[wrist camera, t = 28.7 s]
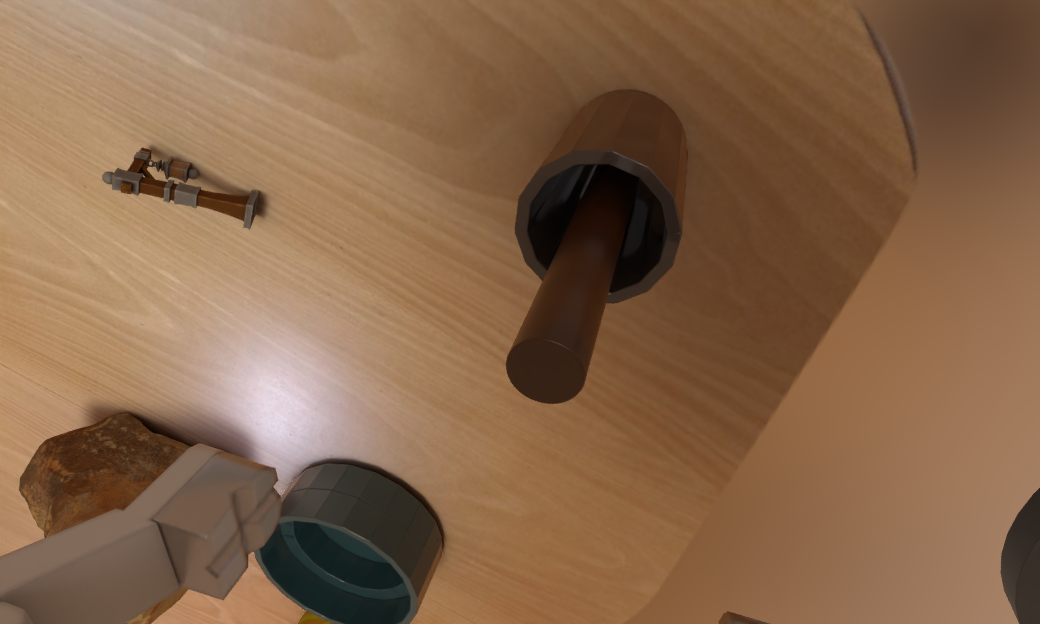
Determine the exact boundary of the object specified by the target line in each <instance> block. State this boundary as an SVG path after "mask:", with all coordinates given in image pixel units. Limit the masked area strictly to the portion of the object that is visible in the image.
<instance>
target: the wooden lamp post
mask: <svg viewBox="0 0 1040 624" xmlns="http://www.w3.org/2000/svg"><path fill="white" fill-rule="evenodd" d="M150 161H151V162H153V163H152V166H151V165H149V162H150ZM155 163H156V165H155ZM148 166H149V167H153V166H154V167H156V168H157V171H158V172H159V170H160V169H161V170H162V171H163V170H164V173H165V176H166V179H167V180H168V178H169V177H174V178H177V179H180V180H182V181H184V182H185V183H186V182H187V180H188V178H191V179H196V178H198V176H199V173H198V171H197V170H195V169H190V168H191V163H182V162H176V161H174V160H173V157H171V158H170V159H169V160H168V161H167V162H166V163H165V162H163V164H162V160H160V161H158V162H154V161H152V160H151V150H149V149H145V148H141V150H139V152H137V153H136V155H135V156H134V161H133V163H132V164H131V166H130V168H129V169H128V171H125V170H121V169H119V168H117V169H116V171H115V172H114V173H113V172H105V173H104V174H103V175H102V179H103V181H104V182H105V183H107V184H112V190H119V191H121V192H122V193H127V194H131V193H132V194H135V195H139V193H143V194H147V195H152V196H156V197H160V198H164V201H166V202H168V203H169V202H170V200H173V201H174V204H182V205H187V206H191V207H194V208H196V207H197V206H200V207H204V208H209V209H212V210H215V211H218V212H221V213H224V214H227V215H230V216H233V217H235V218H237V219H240V220H242V221H244V227H243V228H248V229H249V230H250V228H251V225H252V222H253V220H254V217H255V214H256V207H257V200H258V193H259V191H253V190H252V192H251V194H250V196H238V195H230V194H222V193H213V192H209V191H204V190H201V187H195V186H191V185H187V184H184V183H182V182H179V184H174V180H168V182H165V181H160V180H155V179H154V178H153V176H152V175H151V174H150V173H149V172H148V170H147V168H148ZM143 175H144V176H145V177H146V178H145V177H143Z"/></svg>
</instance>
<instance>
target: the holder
mask: <svg viewBox="0 0 1040 624" xmlns="http://www.w3.org/2000/svg"><path fill="white" fill-rule="evenodd" d="M687 159H688V151H687V145H686V137H685V132H684V129H683V127H682V124H681V122H680V120H679V118H678V117H677V115H676V114H675V113H674V111H673V110H672V109H671V108H670V107H669V106H668V105H667V104H666V103H664V102H663V101H662V100H660V99H659V98H657V97H655V96H653V95H651V94H648V93H646V92H642V91H637V90H618V91H613V92H609V93H606V94H604V95H601V96H599V97H597V98H596V99H594V100H592V101H591V102H590V103H589V104H587V105H586V106H584V107H583V108H582V109H581V110H580V112H579V113H578V115H577V116H576V117H575V119H574V120H573V121H572V123H571V124H570V126H569V127H568V128H567V130H566V131H565V133H564V134H563V135H562V137H561V138H560V140H559V141H558V142H557V144H556V145H555V147H554V148H553V149H552V151H551V152H550V154H549V155H548V156H547V158H546V159H545V160H544V162H543V163H542V165H541V166H540V167H539V169H538V170H537V172H536V173H535V175H534V176H533V177H532V179H531V180H530V182H529V183H528V185H527V186H526V188H525V189H524V190H523V192H522V193H521V195H520V196H519V199H518V207H517V215H516V223H515V234H516V237H517V240H518V243H519V246H520V248H521V251H522V254H523V257H524V260H525V262H526V264H527V265H528V266H529V267H530V268H531V269H532V270H533V271H534V272H535V274H536V275H537V276H538V277H539V278H540V279H541V280H542V281H543V279H544V277H545V275H546V273H547V271H548V269H549V267H550V264H551V262H552V260H553V258H554V256H555V254H556V252H557V250H558V247H559V245H560V243H561V241H562V239H563V237H564V235H565V232H566V230H567V228H568V226H569V224H570V222H571V220H572V218H573V215H574V213H575V211H576V209H577V207H578V205H579V203H580V201H581V198H582V196H583V194H584V192H585V190H586V188H587V186H588V183H589V181H590V179H591V177H592V175H593V173H594V171H595V169H596V166H597V165H601V164H609V165H612V166H614V167H616V168H618V169H621V170H623V171H625V172H627V173H630V174H632V175H634V176H636V177H639V181H638V185H637V189H636V193H635V196H634V200H633V204H632V208H631V211H630V215H629V219H628V222H627V226H626V230H625V234H624V237H623V241H622V245H621V249H620V252H619V256H618V260H617V264H616V267H615V271H614V275H613V279H612V282H611V286H610V290H609V294H608V297H607V301H606V303H612V304H614V303H619V302H621V301H624V300H627V299H629V298H632V297H635V296H637V295H640V294H643V293H645V292H647V291H649V290H650V289H651V288H652V287H653V286H654V285H655V284H656V283H657V282H658V281H659V280H660V279H661V278H662V277H663V276H664V275H665V274H666V273H667V272H668V271H669V270H670V268H671V267H672V266H673V263H674V260H675V256H676V253H677V250H678V246H679V243H680V240H681V236H682V229H683V215H684V201H685V187H686V173H687Z"/></svg>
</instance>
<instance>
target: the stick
mask: <svg viewBox="0 0 1040 624" xmlns="http://www.w3.org/2000/svg"><path fill="white" fill-rule="evenodd" d="M638 181H639V177H636V176H634V175H632V174H630V173H627V172H625V171H623V170H621V169H618V168H616V167H614V166H612V165H609V164H601V165H597V166H596V169H595V171H594V173H593V175H592V177H591V179H590V181H589V183H588V186H587V188H586V190H585V192H584V194H583V196H582V198H581V201H580V203H579V205H578V207H577V209H576V211H575V213H574V215H573V218H572V220H571V222H570V224H569V226H568V228H567V230H566V232H565V235H564V237H563V239H562V241H561V243H560V245H559V247H558V250H557V252H556V254H555V256H554V258H553V260H552V262H551V264H550V267H549V269H548V271H547V273H546V275H545V277H544V279H543V281H542V284H541V286H540V288H539V290H538V292H537V294H536V296H535V298H534V301H533V303H532V305H531V307H530V309H529V311H528V313H527V316H526V318H525V320H524V322H523V324H522V326H521V328H520V330H519V333H518V335H517V337H516V339H515V341H514V343H513V345H512V347H511V350H510V352H509V354H508V356H507V360H506V370H507V374H508V377H509V379H510V381H511V383H512V384H513V385H514V387H515V388H516V389H517V390H518V391H519V392H521V393H522V394H523V395H525V396H526V397H528V398H530V399H532V400H535V401H538V402H541V403H547V404H557V403H562V402H566V401H568V400H570V399H572V398H574V397H575V396H576V395H577V394H578V393H579V392H580V391H581V390H582V388H583V386H584V383H585V380H586V376H587V372H588V368H589V365H590V361H591V357H592V353H593V350H594V346H595V342H596V339H597V335H598V331H599V327H600V324H601V320H602V316H603V312H604V309H605V305H606V301H607V297H608V294H609V290H610V286H611V282H612V279H613V275H614V271H615V267H616V264H617V260H618V256H619V252H620V249H621V245H622V241H623V237H624V234H625V230H626V226H627V222H628V219H629V215H630V211H631V208H632V204H633V200H634V196H635V193H636V189H637V185H638Z"/></svg>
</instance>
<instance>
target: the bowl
mask: <svg viewBox="0 0 1040 624" xmlns="http://www.w3.org/2000/svg"><path fill="white" fill-rule="evenodd" d="M281 501H282V509H281V516H280V519H279V521H278V523H277V526H276V528H275V530H274V533H273V534H272V535H271V537H270V538H269V540H268V541H267V542H266V544H265V545H264V546H263V547H261V548H259V549H257V550H255V551H254V553H255V557H256V560H257V562H258V564H259V565H260V567H261V569H262V570H263V572H264V574H265V575H266V577H267V578H268V579H269V580H270V581H271V582H272V583H273V584H274V585H275V586H276V587H277V588H278V590H279V591H280V592H281V593H282V594H284V595H285V596H286V597H288V598H289V599H290V600H292V601H293V602H294V603H296V604H297V605H299V606H300V607H301V608H303V609H304V610H306V611H308V612H310V613H312V614H314V615H316V616H318V617H320V618H322V619H323V620H325V621H328V622H330V623H333V624H410V622H411V621H412V620H413V618H414V617H415V615H416V614H417V612H418V610H419V607H420V605H421V603H422V600H423V598H424V596H425V593H426V591H427V589H428V586H429V584H430V582H431V579H432V577H433V575H434V572H435V570H436V568H437V565H438V563H439V560H440V558H441V554H442V537H441V534H440V531H439V529H438V526H437V523H436V522H435V520H434V518H433V517H432V516H431V515H430V513H429V512H428V511H427V509H426V508H425V507H424V506H423V504H422V503H421V502H420V501H419V500H417V499H416V498H415V497H414V496H412V495H411V494H410V493H409V492H408V491H406V490H405V489H404V488H403V487H401V486H400V485H398V484H397V483H395V482H393V481H391V480H389V479H387V478H385V477H383V476H382V475H380V474H378V473H375V472H372V471H369V470H366V469H362V468H359V467H356V466H352V465H346V464H328V463H327V464H323V465H319V466H315V467H311V468H308V469H306V470H305V471H304V472H302V473H301V474H300V475H299V476H298V477H296V478H295V479H294V481H293V482H292V483H291V485H290V486H289V487H288V489H287V490H286V491H285V493H284V494H283V495H282V497H281Z"/></svg>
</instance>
